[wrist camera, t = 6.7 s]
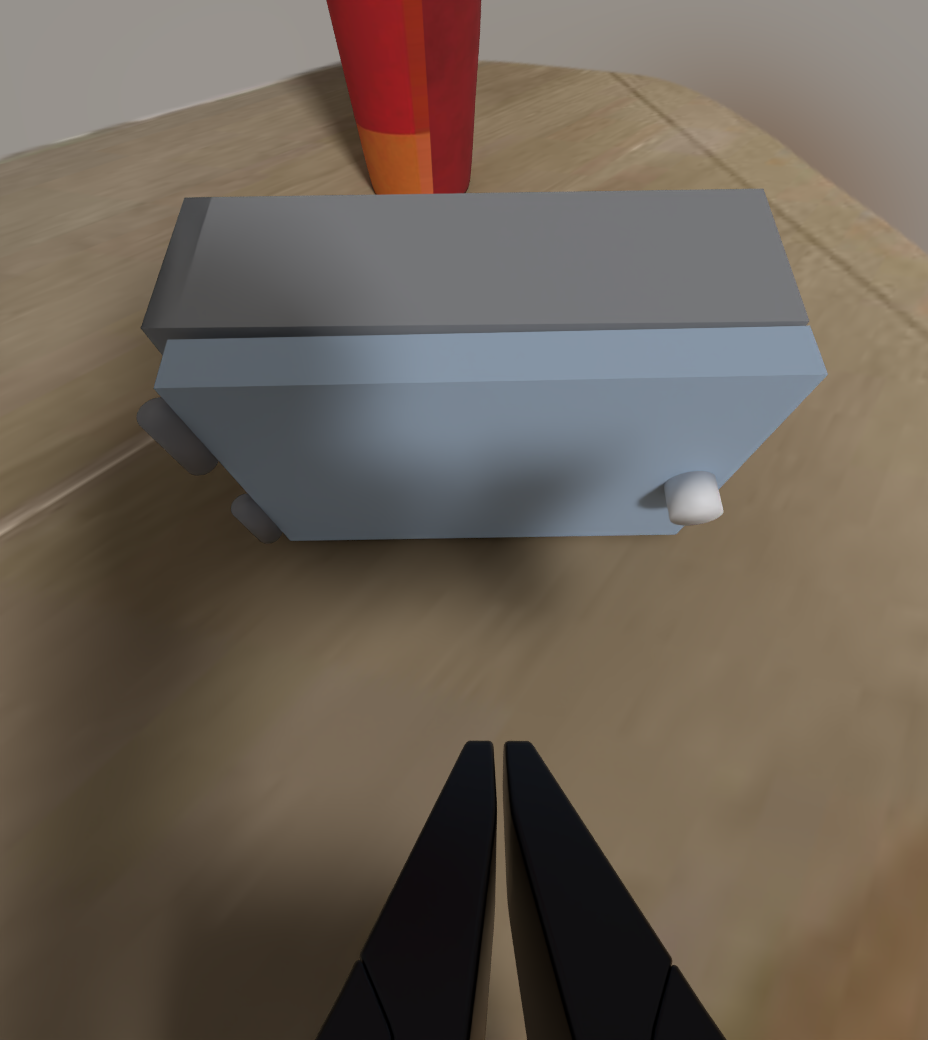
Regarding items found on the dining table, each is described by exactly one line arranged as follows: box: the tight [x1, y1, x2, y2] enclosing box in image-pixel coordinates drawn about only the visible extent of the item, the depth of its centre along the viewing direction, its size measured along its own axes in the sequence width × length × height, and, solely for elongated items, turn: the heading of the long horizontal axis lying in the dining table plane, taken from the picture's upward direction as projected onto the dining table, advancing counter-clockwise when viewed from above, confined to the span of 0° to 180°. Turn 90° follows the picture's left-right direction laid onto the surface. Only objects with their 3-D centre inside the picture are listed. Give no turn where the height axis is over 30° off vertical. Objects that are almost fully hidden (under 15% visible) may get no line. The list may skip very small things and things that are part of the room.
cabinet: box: [141, 189, 809, 355], centre depth 19 cm, size 5×17×10 cm, turn 90°
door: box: [137, 326, 828, 544], centre depth 17 cm, size 3×17×10 cm, turn 91°
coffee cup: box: [327, 0, 481, 195], centre depth 24 cm, size 8×8×15 cm
